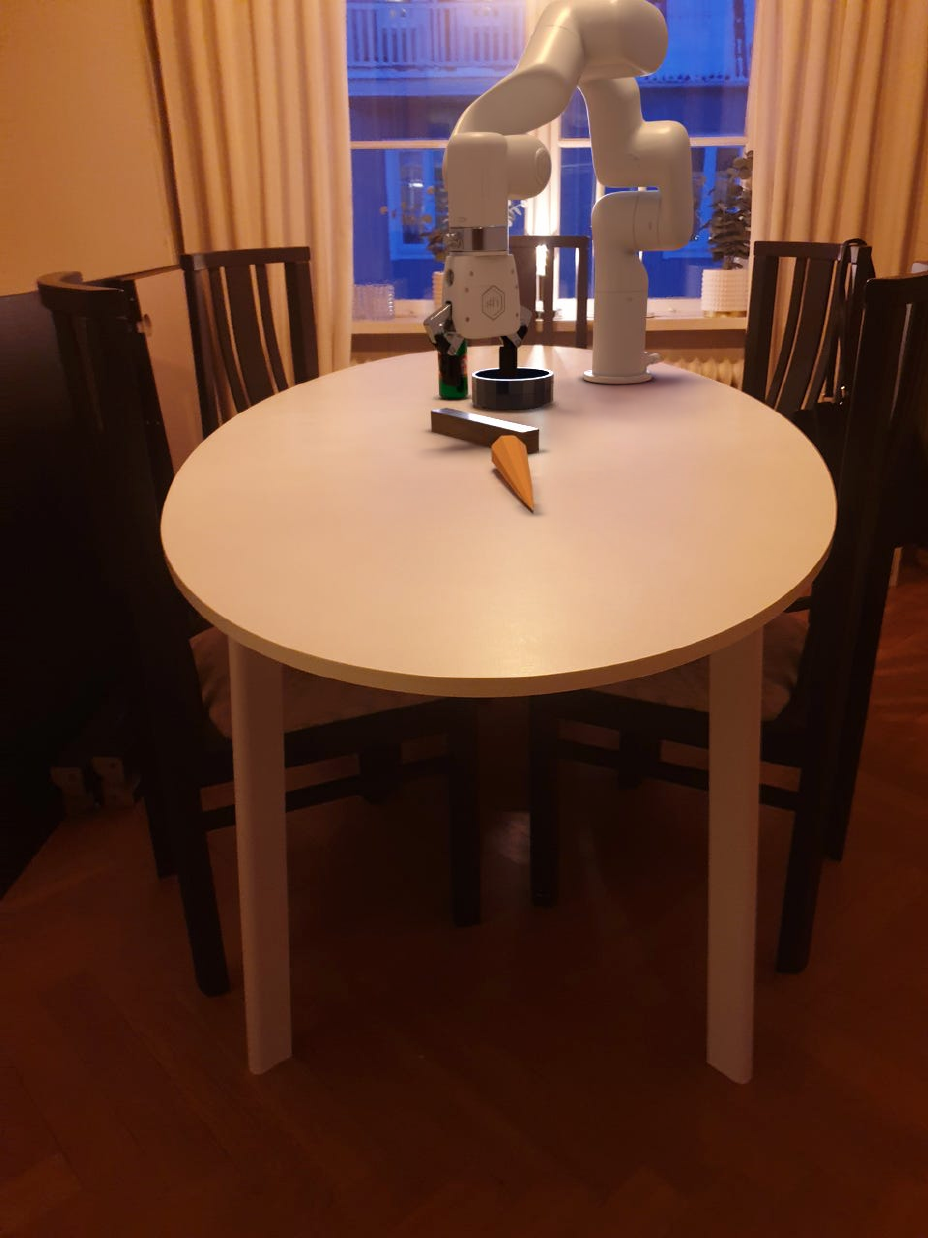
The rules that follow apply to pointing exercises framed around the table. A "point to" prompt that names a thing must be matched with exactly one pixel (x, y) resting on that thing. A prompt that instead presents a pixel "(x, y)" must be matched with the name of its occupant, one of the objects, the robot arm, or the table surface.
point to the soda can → (461, 390)
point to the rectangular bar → (481, 428)
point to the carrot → (513, 466)
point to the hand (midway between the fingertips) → (480, 381)
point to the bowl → (512, 389)
